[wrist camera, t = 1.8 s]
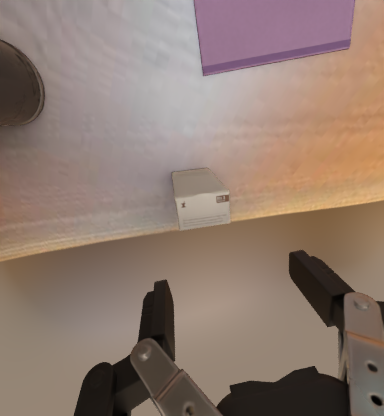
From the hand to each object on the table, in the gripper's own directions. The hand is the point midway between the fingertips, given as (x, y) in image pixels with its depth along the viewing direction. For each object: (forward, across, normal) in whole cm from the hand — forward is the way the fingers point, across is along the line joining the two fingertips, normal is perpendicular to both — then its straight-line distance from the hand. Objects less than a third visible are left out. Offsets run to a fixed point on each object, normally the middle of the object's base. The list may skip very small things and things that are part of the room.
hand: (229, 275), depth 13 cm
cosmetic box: (+22, 0, 0) cm, 22 cm away
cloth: (+22, -14, -19) cm, 32 cm away
